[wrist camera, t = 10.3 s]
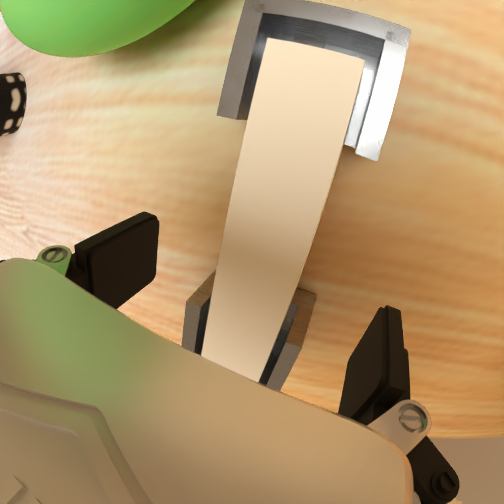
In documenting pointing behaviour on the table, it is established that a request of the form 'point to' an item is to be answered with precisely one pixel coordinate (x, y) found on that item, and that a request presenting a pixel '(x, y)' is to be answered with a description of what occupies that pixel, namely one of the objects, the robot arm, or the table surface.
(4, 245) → the table surface
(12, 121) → the white-spotted black cylinder
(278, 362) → the bracket
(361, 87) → the bracket
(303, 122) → the rail
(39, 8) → the toy bird
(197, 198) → the table surface
